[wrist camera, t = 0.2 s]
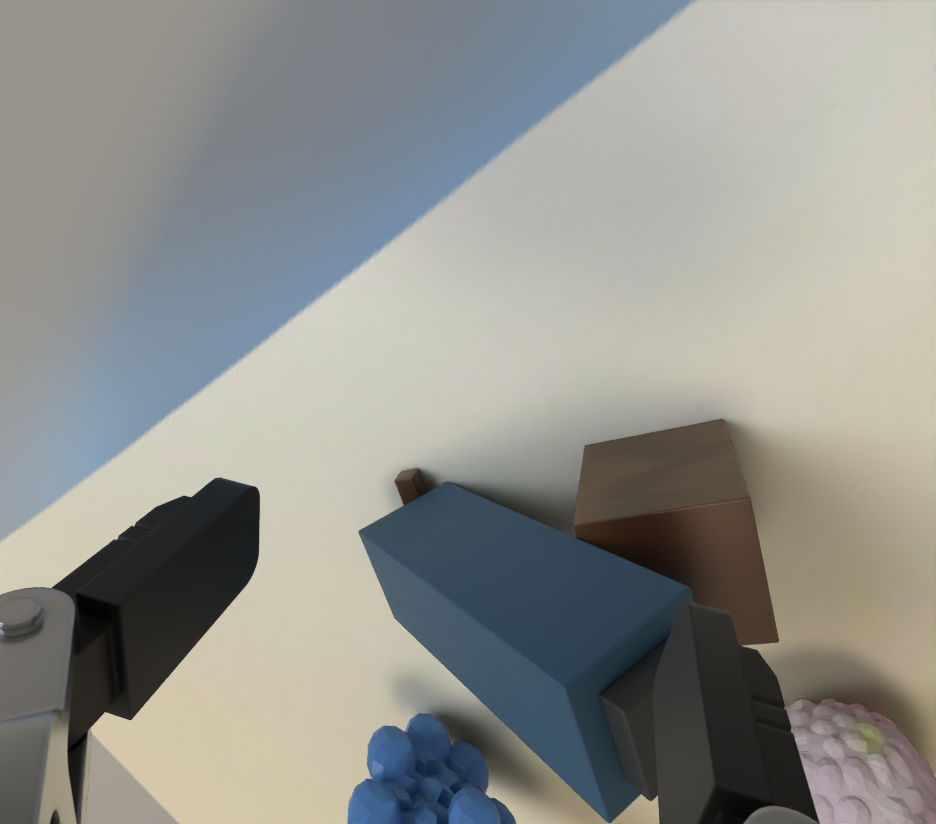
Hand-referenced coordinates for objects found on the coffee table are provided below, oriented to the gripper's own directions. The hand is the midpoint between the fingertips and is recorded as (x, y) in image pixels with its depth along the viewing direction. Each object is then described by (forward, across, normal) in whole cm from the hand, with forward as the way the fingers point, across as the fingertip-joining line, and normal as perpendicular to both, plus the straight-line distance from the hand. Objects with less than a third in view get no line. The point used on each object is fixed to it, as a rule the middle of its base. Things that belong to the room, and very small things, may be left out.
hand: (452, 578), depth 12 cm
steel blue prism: (+10, -1, +9) cm, 13 cm away
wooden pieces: (+17, -3, +8) cm, 19 cm away
